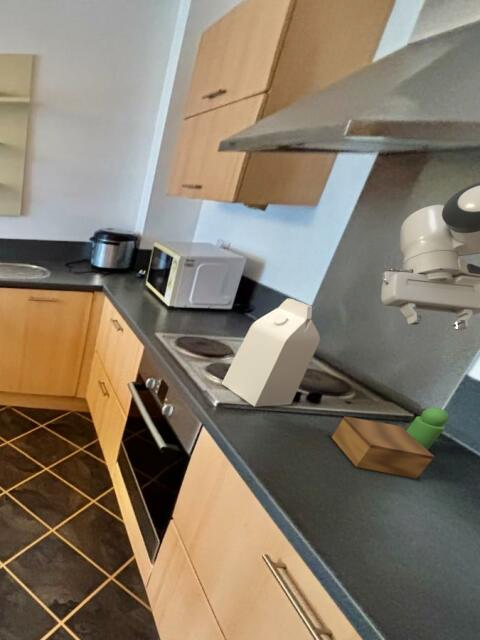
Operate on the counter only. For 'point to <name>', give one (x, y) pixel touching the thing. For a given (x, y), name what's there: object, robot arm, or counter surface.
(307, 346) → the milk
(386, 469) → the oak block
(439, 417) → the toy
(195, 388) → the counter surface
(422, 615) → the counter surface
